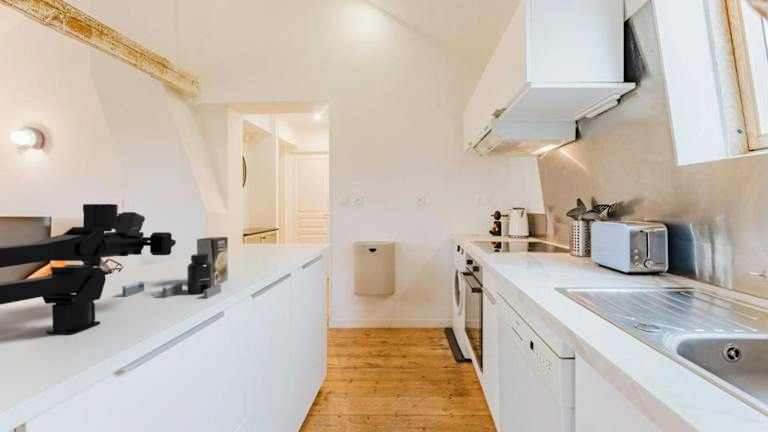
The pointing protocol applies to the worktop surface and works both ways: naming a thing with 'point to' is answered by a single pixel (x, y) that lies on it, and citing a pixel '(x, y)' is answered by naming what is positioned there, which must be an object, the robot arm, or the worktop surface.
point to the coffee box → (215, 256)
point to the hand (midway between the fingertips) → (160, 241)
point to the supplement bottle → (199, 274)
